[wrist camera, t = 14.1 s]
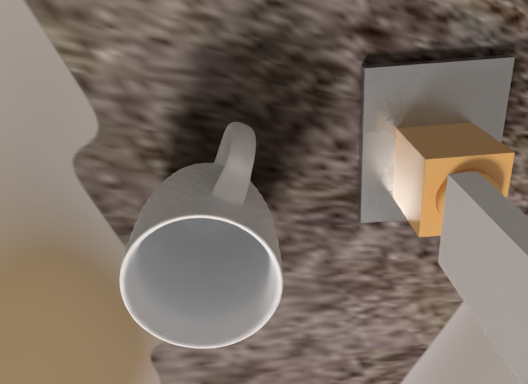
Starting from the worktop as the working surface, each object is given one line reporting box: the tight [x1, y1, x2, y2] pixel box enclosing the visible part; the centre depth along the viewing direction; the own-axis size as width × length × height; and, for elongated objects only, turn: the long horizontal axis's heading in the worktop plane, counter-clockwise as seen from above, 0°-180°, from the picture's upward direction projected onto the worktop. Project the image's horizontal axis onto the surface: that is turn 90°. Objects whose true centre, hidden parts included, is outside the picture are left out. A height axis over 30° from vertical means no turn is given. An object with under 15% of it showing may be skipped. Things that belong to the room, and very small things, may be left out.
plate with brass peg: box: [358, 55, 515, 223], centre depth 40 cm, size 14×12×7 cm
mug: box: [120, 122, 283, 348], centre depth 38 cm, size 15×11×13 cm
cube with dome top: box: [392, 122, 515, 237], centre depth 39 cm, size 6×6×8 cm
